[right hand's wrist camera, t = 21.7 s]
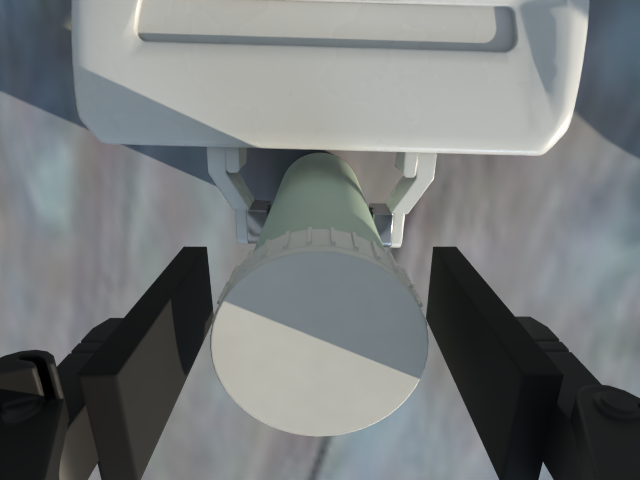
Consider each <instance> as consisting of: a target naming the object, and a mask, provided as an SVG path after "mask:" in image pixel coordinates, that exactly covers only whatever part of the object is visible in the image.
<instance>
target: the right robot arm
mask: <svg viewBox="0 0 640 480" xmlns="http://www.w3.org/2000/svg"><path fill="white" fill-rule="evenodd" d="M213 317H214V314H213V304H212V295H211V285H210V275H209V265H208V255H207V247H183V248H182V250H181V251H180V252H179V253H178V254H177V256H176V257H175V258H174V259H173V260H172V262H171V263H170V264H169V265H168V266H167V267H166V269H165V270H164V271H163V272H162V273H161V275H160V276H159V277H158V278H157V279H156V281H155V282H154V283H153V284H152V285H151V286H150V288H149V289H148V290H147V291H146V292H145V294H144V295H143V296H142V297H141V298H140V300H139V301H138V302H137V303H136V304H135V306H134V307H133V308H132V309H131V310H130V311H129V313H128V314H127V315H126V316H125V317H124V318H109V319H108V320H106V321H104V322H103V323H101V324H99V325H98V326H96V327H94V328H93V329H92V330H91V331H90V332H89V333H88V334H87V335H86V336H85V337H84V338H83V339H82V341H81V343H79V344H78V345H77V346H76V347H75V348H74V349H73V350H72V353H71V354H68V356H67V357H66V358H65V359H64V360H63V361H62V362H61V363H60V364H59V365H58V366H57V367H56V363H55V359H54V356H53V355H52V354H50V353H49V352H47V351H40V350H29V351H21V352H17V353H13V354H10V355H6V356H3V357H1V358H0V480H88V478H89V476H90V475H91V473H92V471H93V470H94V468H95V466H96V465H97V463H98V467H99V471H100V475H101V479H102V480H141V478H142V476H143V473H144V471H145V469H146V467H147V465H148V462H149V460H150V458H151V456H152V454H153V451H154V449H155V447H156V445H157V443H158V440H159V438H160V436H161V434H162V432H163V429H164V427H165V425H166V423H167V421H168V418H169V416H170V414H171V412H172V410H173V407H174V405H175V403H176V401H177V399H178V396H179V394H180V392H181V390H182V388H183V385H184V383H185V381H186V379H187V377H188V374H189V372H190V370H191V368H192V366H193V363H194V361H195V359H196V357H197V355H198V352H199V350H200V348H201V346H202V344H203V341H204V339H205V337H206V335H207V333H208V330H209V328H210V326H211V324H212V319H213ZM426 319H427V322H428V324H429V326H430V328H431V330H432V333H433V335H434V337H435V339H436V341H437V344H438V346H439V348H440V350H441V352H442V355H443V357H444V359H445V361H446V363H447V366H448V368H449V370H450V372H451V374H452V377H453V379H454V381H455V383H456V385H457V388H458V390H459V392H460V394H461V396H462V399H463V401H464V403H465V405H466V407H467V410H468V412H469V414H470V416H471V418H472V421H473V423H474V425H475V427H476V429H477V432H478V434H479V436H480V438H481V440H482V443H483V445H484V447H485V449H486V451H487V454H488V456H489V458H490V460H491V462H492V465H493V467H494V469H495V471H496V473H497V476H498V478H499V480H538V479H539V475H540V471H541V467H542V463H543V462H544V464H545V466H546V467H547V469H548V471H549V472H550V474H551V476H552V478H553V479H554V480H640V398H638V397H636V396H634V395H632V394H630V393H628V392H626V391H624V390H621V389H618V388H615V387H611V386H607V385H602V384H601V383H600V382H599V381H598V380H597V379H596V378H595V377H594V376H593V375H592V374H591V373H590V372H589V371H588V370H587V369H586V367H585V366H584V365H583V364H582V363H581V362H580V361H579V360H578V359H577V358H576V357H575V356H574V355H573V354H572V353H571V352H569V349H568V348H567V347H566V346H565V345H564V344H563V343H562V342H559V339H558V338H557V337H556V336H555V334H554V333H553V332H552V331H551V330H550V329H549V328H548V327H547V326H545V325H543V324H541V323H540V322H538V321H536V320H535V319H533V318H531V317H515V316H514V315H513V314H512V313H511V311H510V310H509V309H508V308H507V307H506V306H505V304H504V303H503V302H502V301H501V300H500V298H499V297H498V296H497V295H496V294H495V292H494V291H493V290H492V289H491V288H490V286H489V285H488V284H487V283H486V282H485V281H484V279H483V278H482V277H481V276H480V275H479V273H478V272H477V271H476V270H475V269H474V267H473V266H472V265H471V264H470V263H469V262H468V260H467V259H466V258H465V257H464V256H463V254H462V253H461V252H460V251H459V250H458V248H457V247H433V255H432V265H431V275H430V285H429V295H428V304H427V314H426Z"/></svg>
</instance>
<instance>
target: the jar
mask: <svg viewBox="0 0 640 480" xmlns="http://www.w3.org/2000/svg"><path fill="white" fill-rule="evenodd" d="M308 227H312V229H329V230H330V227H333V228H334V230H338V231H342V232H347V233H352V232H355V233H356V236H359V237H362V238H364V239H366V240H368V241H370V242H371V241H372V240H373V241H375V242H376V245H377V246H378V247H379V248H381V249H382V250H384V251H385V249H384V247H383V244H382V242H381V239H380V237H379V234H378V231H377V229H376V226H375V224H374V221H373V219H372V216H371V214H370V211H369V209H368V206H367V203H366V201H365V198H364V196H363V193H362V191H361V188H360V186H359V183H358V180H357V178H356V176H355V174H354V172H353V170H352V169H351V167H350V166H349V165H348V164H347V163H346V162H345V161H343V160H342V159H341V158H339V157H337V156H335V155H332V154H328V153H312V154H308V155H305V156H303V157H301V158H299V159H298V160H296V161H295V162H294V163H293V164H291V166H290V167H289V168H288V169H287V171H286V173H285V175H284V177H283V179H282V182H281V184H280V187H279V189H278V192H277V194H276V197H275V199H274V202H273V204H272V207H271V209H270V212H269V214H268V217H267V219H266V222H265V224H264V227H263V229H262V232H261V234H260V237H259V239H258V242H257V244H256V247H255V249H254V251H255V250H257V249H258V248H259V247H261V246H262V245H264V244H265V242H266V240H267V239H270V240H273V239H275V238H278V237H280V236H282V235H285V234H286V232H287V231H290V233H292V232H296V231H302V230H308Z"/></svg>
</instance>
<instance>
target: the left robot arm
mask: <svg viewBox="0 0 640 480" xmlns="http://www.w3.org/2000/svg"><path fill="white" fill-rule="evenodd" d="M589 5H590V0H72V1H71V42H72V64H73V78H74V89H75V99H76V105H77V111H78V115H79V117H80V119H81V121H82V122H83V123H84V124H85V126H86V127H87V128H88V129H89V130H90V131H91V133H92V134H93V135H94V136H95V137H96V138H97V139H98V140H99V141H100V142H102V143H105V144H129V145H165V146H202V147H207V163H208V173H209V175H210V176H211V178H212V179H213V181H214V182H215V184H216V185H217V187H218V188H219V190H220V191H221V193H222V194H223V196H224V197H225V199H226V200H227V202H228V203H229V205H230V206H231V208H232V209H235V212H236V234H237V242H238V243H242V244H249V243H252V244H257V242H258V239H259V237H260V234H261V232H262V229H263V227H264V224H265V222H266V219H267V217H268V214H269V212H270V209H271V201H262V200H255V198H254V197H253V195H252V193H251V192H250V190H249V188H248V186H247V185H246V183H245V181H244V180H243V178H242V176H241V174H240V173H239V170H240V169H241V168H242V167H243V166H244V165H245V164H246V163H247V148H275V149H312V150H348V151H385V152H396V162H395V167H396V168H397V169H398V170H399V171H400V172H401V173H402V174H403V176H402V178H401V179H400V181H399V182H398V184H397V185H396V187H395V188H394V190H393V192H392V193H391V195H390V196H389V198H388V199H387V201H386V202H385V203H386V204H369V211H370V214H371V216H372V219H373V221H374V224H375V226H376V229H377V231H378V234H379V237H380V239H381V242H382V244H383V247H399V248H400V247H401V244H402V236H403V227H404V217H405V214H408V213H409V211H410V210H411V209H412V207H413V206H414V205H415V203H416V202H417V201H418V199H419V198H420V197H421V195H422V194H423V193H424V191H425V190H426V189H427V187H428V186H429V185H430V183H431V182H432V181H433V179H434V173H435V165H436V157H437V153H458V154H494V155H533V156H539V155H543V154H544V153H546V152H547V151H548V150H549V149H550V148H551V147H552V146H553V145H554V144H555V143H556V142H557V141H558V140H559V139H560V138H561V137H562V136H563V135H564V134H565V133H566V131H567V129H568V127H569V125H570V122H571V119H572V115H573V111H574V107H575V103H576V98H577V93H578V88H579V83H580V77H581V72H582V66H583V59H584V52H585V45H586V37H587V29H588V19H589Z"/></svg>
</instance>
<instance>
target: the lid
mask: <svg viewBox="0 0 640 480" xmlns="http://www.w3.org/2000/svg"><path fill="white" fill-rule="evenodd" d="M217 304H219V306H218V308H217V310H216V312H215V315H214V317H213V319H212V323H213V324H212V330H211V339H210V349H211V356H212V361H213V365H214V368H215V372H216V374H217V376H218V378H219V380H220V383H221V384H222V386H223V387H224V389H225V390H226V392H227V393H228V395H229V396H230V397H231V398H232V399H233V400H234V402H235V403H236V404H237V405H239V406H240V407H241V408H242V409H243V410H244V411H245V412H247V413H248V414H250V415H251V416H252V417H254V418H255V419H257V420H259V421H261V422H263V423H264V424H266V425H269V426H271V427H274V428H276V429H279V430H282V431H286V432H289V433H294V434H299V435H308V436H332V435H340V434H345V433H349V432H354V431H357V430H360V429H363V428H365V427H368V426H370V425H372V424H374V423H376V422H378V421H380V420H382V419H383V418H385V417H386V416H388V415H389V414H391V413H392V412H393V411H394V410H396V409H397V408H398V407H399V406H400V405H401V404H402V403H403V402H404V401H405V400H406V399H407V398H408V397H409V395H410V394H411V393H412V391H413V390H414V389H415V387H416V385H417V383H418V382H419V380H420V378H421V375H422V373H423V370H424V368H425V364H426V360H427V355H428V331H427V322H426V319H425V317H424V315H423V313H422V310H421V308H420V307H422V306H423V305H422V303H421V301H420V298H419V296H418V294H417V292H416V290H415V288H414V286H413V284H411V281H410V279H409V277H408V275H407V273H406V271H405V269H404V267H403V268H400V267H399V266H398V264H397V263H396V262H395V260H394V258H393V255H392V254H391V253H390V252H389V253H388V254H387V253H386V252H385V251H384V250H382V249H381V248H379V247H378V246H377V245H376V242H375V241H373V240H372V241H371V242H370V241H368V240H366V239H364V238H362V237H359V236H356V233H355V232H352V233H347V232H342V231H338V230H334V228H333V227H330V230H329V229H312V227H308V230H302V231H296V232H292V233H290V231H287V232H286V234H285V235H282V236H280V237H278V238H275V239H273V240H270V239H267V240H266V242H265V244H264V245H262V246H261V247H259V248H258V249H257V250H255V251H254V252H253V251H252V250H251V251H250V252H249V253H248V256H247V258H246V260H245V261H244V262H243V263H242V264H241V265H240V266H239V265H237V266H236V267H235V269H234V271H233V273H232V276H231V278H230V280H229V282H227V283H226V285H225V287H224V289H223V291H222V293H221V295H220V298H219V300H218V302H217Z"/></svg>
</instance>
